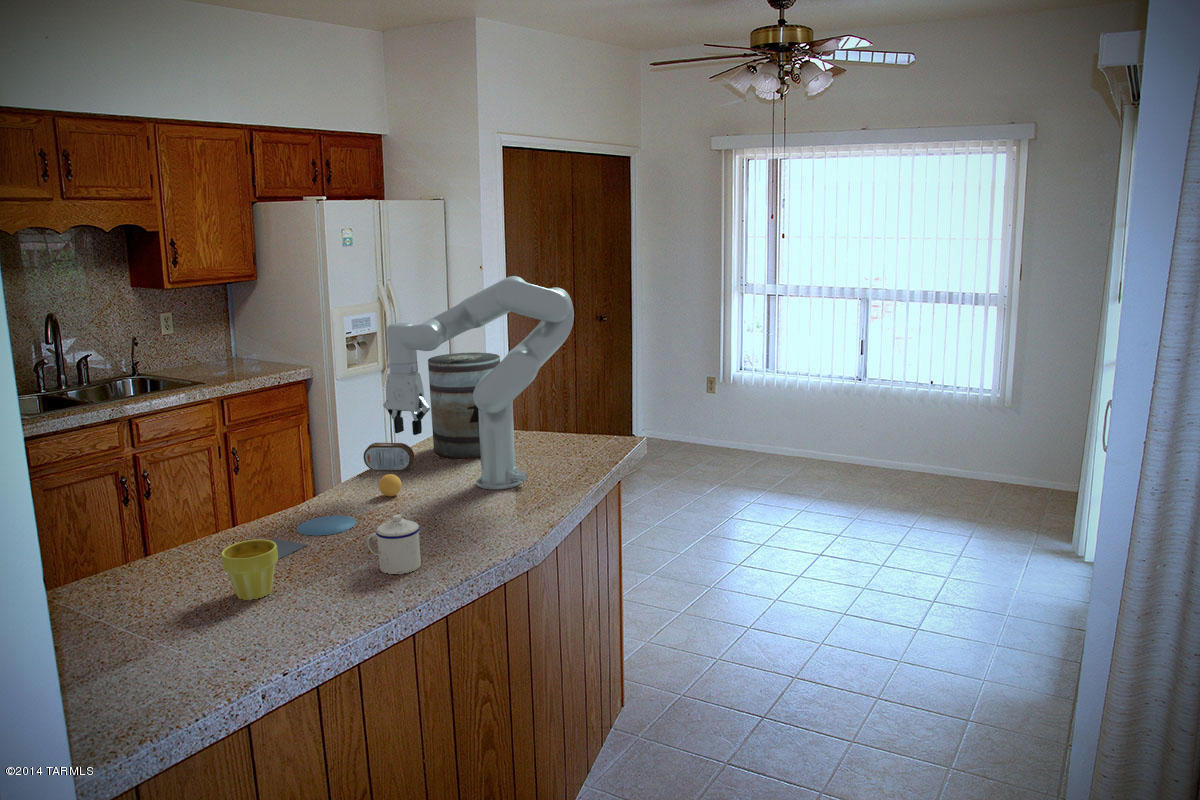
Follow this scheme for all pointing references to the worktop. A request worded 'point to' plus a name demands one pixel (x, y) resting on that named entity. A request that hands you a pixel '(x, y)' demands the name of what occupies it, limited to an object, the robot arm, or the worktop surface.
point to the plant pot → (251, 567)
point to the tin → (388, 457)
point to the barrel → (457, 402)
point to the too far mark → (287, 547)
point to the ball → (390, 485)
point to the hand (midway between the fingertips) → (408, 432)
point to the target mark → (326, 525)
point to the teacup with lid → (397, 546)
